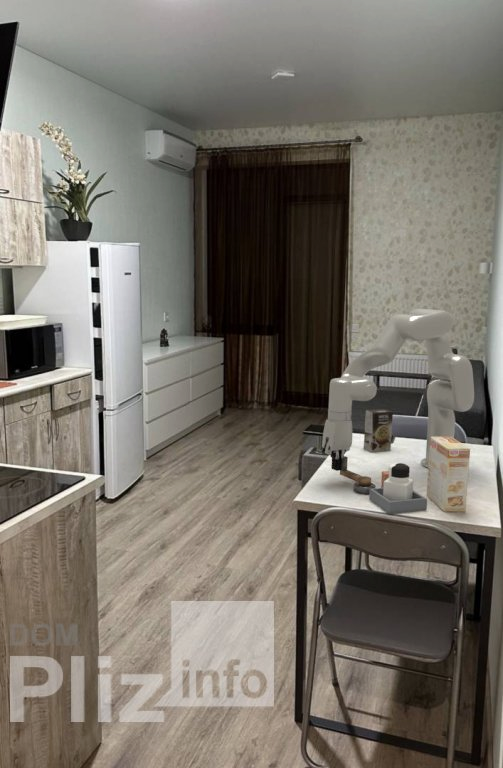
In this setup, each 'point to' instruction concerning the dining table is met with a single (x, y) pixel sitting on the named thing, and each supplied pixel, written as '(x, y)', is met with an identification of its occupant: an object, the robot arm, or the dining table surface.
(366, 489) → the crank base
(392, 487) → the medicine bottle
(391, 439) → the cell phone
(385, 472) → the block
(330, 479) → the dining table surface
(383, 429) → the coffee box
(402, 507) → the tray
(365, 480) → the crank
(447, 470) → the coffeecake box
